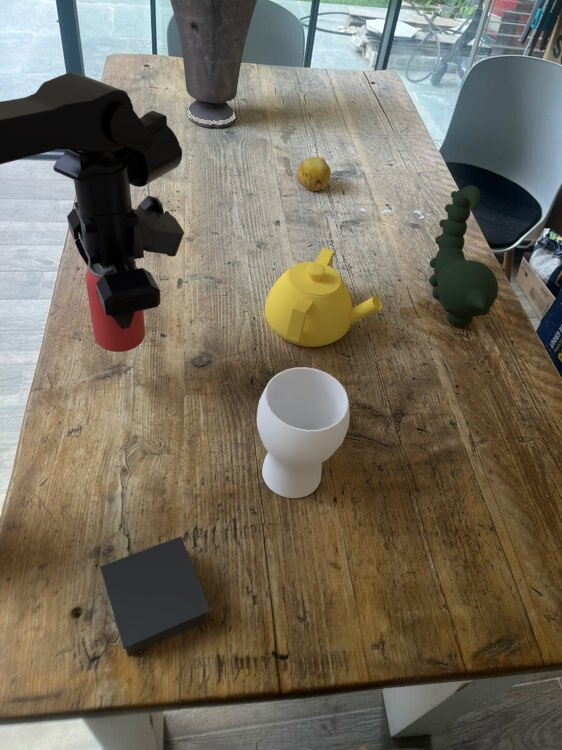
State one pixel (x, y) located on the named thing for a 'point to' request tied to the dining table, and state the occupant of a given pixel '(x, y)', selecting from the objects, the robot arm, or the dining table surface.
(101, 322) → the beer can
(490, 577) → the dining table surface
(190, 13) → the vase
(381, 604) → the dining table surface
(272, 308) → the teapot
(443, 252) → the toy figurine
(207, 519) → the dining table surface
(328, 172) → the fruit
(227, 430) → the dining table surface
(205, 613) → the block
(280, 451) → the cup
